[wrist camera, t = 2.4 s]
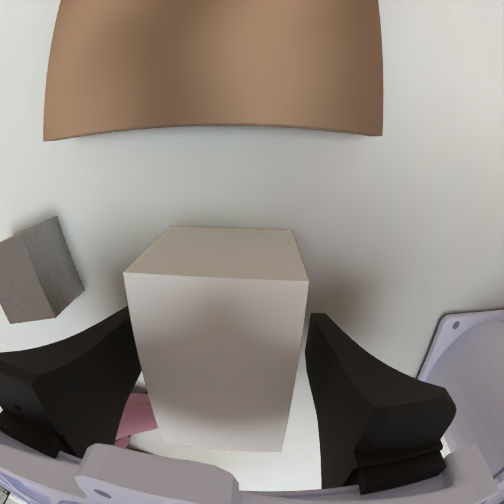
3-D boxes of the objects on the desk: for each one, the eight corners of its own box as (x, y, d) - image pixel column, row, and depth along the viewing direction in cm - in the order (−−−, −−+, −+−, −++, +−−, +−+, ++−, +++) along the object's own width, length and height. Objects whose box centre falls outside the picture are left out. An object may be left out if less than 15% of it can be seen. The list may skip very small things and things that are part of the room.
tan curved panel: (350, -51, 7) (363, -78, 5) (358, 137, 11) (382, 135, 8) (102, -37, 8) (80, -57, 5) (77, 139, 11) (43, 141, 9)
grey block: (58, 215, 12) (20, 232, 10) (85, 288, 14) (55, 317, 11) (14, 234, 13) (-21, 253, 10) (39, 298, 14) (10, 323, 11)
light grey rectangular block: (291, 229, 12) (309, 280, 8) (277, 375, 15) (281, 452, 10) (171, 225, 12) (123, 272, 8) (184, 370, 15) (162, 442, 10)
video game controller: (127, 360, 17) (38, 406, 11) (181, 404, 15) (92, 470, 9) (124, 435, 20) (65, 474, 14) (164, 469, 19) (107, 516, 12)
